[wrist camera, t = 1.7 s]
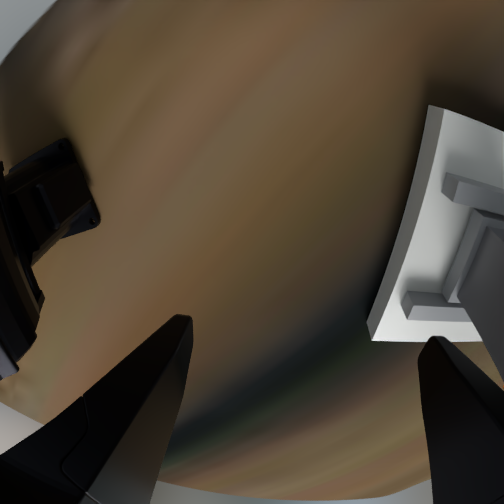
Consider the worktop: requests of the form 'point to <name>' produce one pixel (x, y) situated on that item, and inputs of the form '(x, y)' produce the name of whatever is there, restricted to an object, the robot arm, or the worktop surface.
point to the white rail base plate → (438, 229)
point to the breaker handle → (481, 280)
